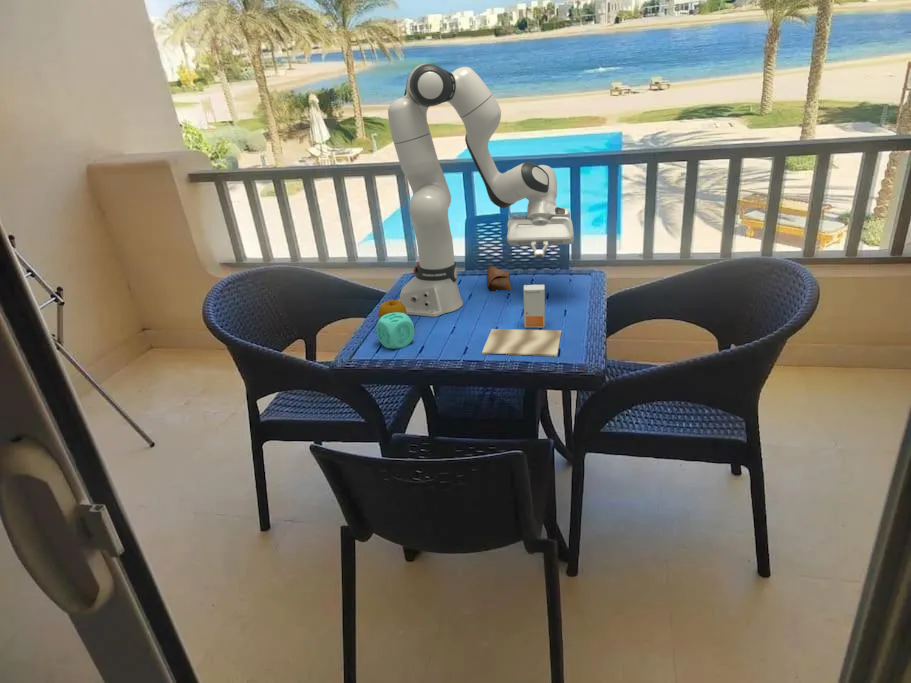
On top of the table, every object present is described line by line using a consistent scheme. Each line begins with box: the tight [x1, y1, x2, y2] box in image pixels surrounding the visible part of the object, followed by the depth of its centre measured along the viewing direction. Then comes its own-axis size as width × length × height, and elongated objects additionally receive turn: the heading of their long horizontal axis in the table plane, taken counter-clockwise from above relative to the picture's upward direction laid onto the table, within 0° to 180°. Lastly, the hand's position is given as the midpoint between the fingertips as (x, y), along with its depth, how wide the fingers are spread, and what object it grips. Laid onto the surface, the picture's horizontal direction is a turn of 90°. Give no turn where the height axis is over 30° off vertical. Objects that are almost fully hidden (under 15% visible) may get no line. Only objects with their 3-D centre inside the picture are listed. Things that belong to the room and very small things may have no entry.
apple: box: [377, 299, 407, 320], centre depth 184 cm, size 8×8×9 cm
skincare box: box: [523, 284, 546, 329], centre depth 176 cm, size 6×4×12 cm
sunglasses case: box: [486, 265, 513, 292], centre depth 214 cm, size 18×7×7 cm, turn 0°
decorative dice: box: [375, 312, 416, 350], centre depth 174 cm, size 8×8×8 cm
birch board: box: [481, 328, 562, 358], centre depth 169 cm, size 20×15×1 cm
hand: (539, 256), depth 184 cm, fingers closed
